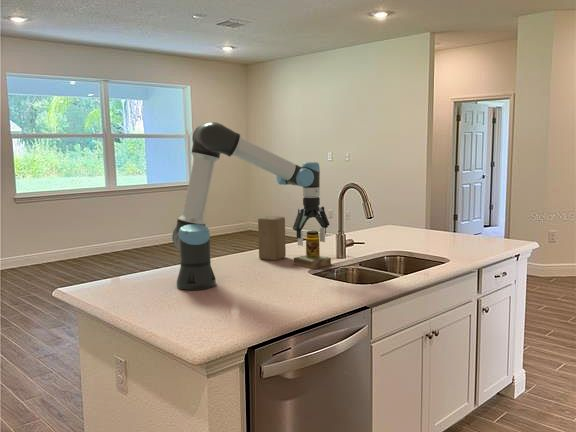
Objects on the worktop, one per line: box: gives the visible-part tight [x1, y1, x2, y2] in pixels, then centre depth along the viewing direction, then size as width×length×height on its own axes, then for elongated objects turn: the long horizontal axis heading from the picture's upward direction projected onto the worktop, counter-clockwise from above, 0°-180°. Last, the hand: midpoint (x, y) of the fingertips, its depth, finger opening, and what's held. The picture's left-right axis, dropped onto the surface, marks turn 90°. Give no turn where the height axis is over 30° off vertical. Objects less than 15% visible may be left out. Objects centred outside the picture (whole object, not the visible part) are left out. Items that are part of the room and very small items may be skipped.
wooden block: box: [257, 215, 286, 262], centre depth 247 cm, size 10×10×20 cm
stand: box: [293, 255, 332, 270], centre depth 234 cm, size 12×12×3 cm
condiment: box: [301, 230, 325, 259], centre depth 233 cm, size 7×8×12 cm
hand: (311, 243), depth 233 cm, fingers open, 13 cm apart
